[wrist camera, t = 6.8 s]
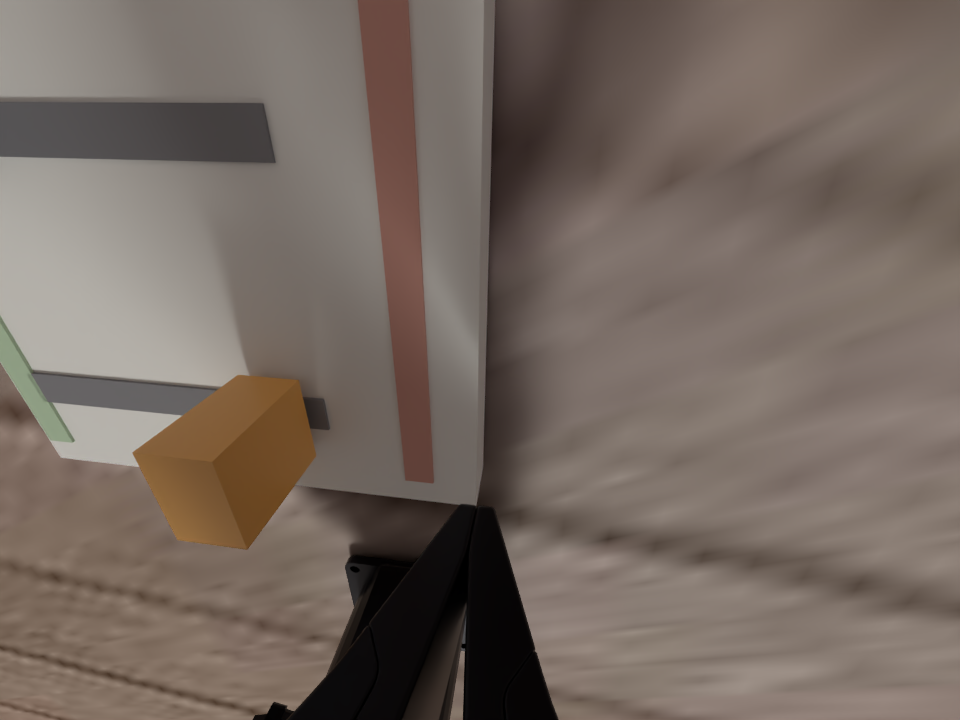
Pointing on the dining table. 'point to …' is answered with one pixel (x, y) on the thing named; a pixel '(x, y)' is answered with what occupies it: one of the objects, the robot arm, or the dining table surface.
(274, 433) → the block
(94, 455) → the breaker panel
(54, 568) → the dining table surface
